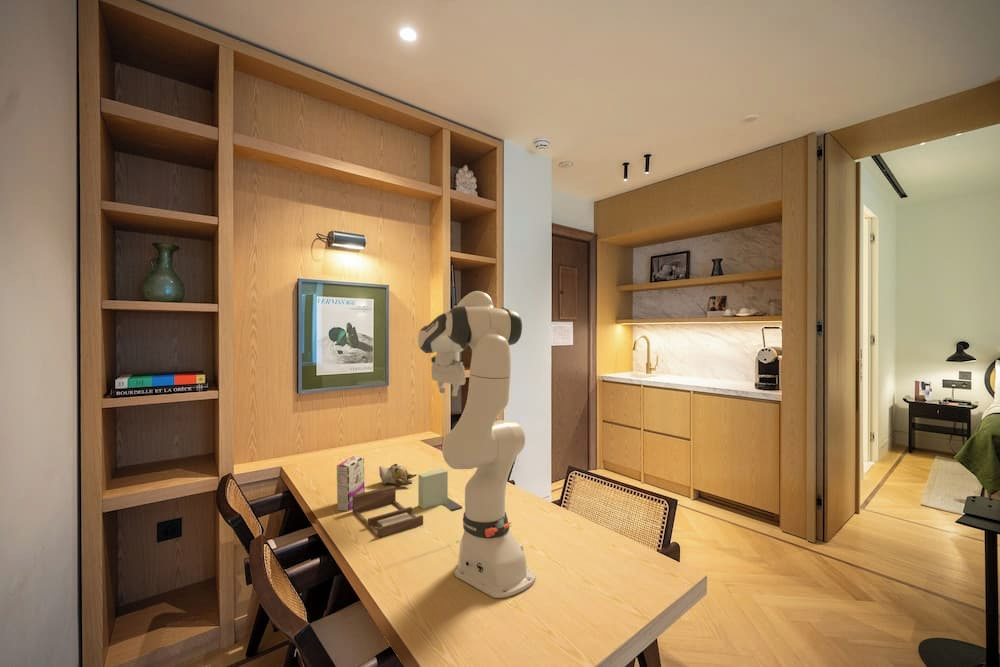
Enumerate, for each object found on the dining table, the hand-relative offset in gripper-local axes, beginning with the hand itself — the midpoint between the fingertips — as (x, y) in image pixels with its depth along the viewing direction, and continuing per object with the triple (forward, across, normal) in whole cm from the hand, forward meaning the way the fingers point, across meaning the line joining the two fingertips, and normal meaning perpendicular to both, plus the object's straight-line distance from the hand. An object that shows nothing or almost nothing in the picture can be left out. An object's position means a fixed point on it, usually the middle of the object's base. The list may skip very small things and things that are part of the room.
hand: (448, 394), depth 168 cm
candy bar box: (+39, +12, +34) cm, 53 cm away
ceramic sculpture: (+40, +22, +12) cm, 47 cm away
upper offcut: (+38, -16, +29) cm, 50 cm away
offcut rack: (+39, -9, +29) cm, 49 cm away
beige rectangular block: (+38, -8, +11) cm, 41 cm away
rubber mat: (+39, -8, +11) cm, 41 cm away
